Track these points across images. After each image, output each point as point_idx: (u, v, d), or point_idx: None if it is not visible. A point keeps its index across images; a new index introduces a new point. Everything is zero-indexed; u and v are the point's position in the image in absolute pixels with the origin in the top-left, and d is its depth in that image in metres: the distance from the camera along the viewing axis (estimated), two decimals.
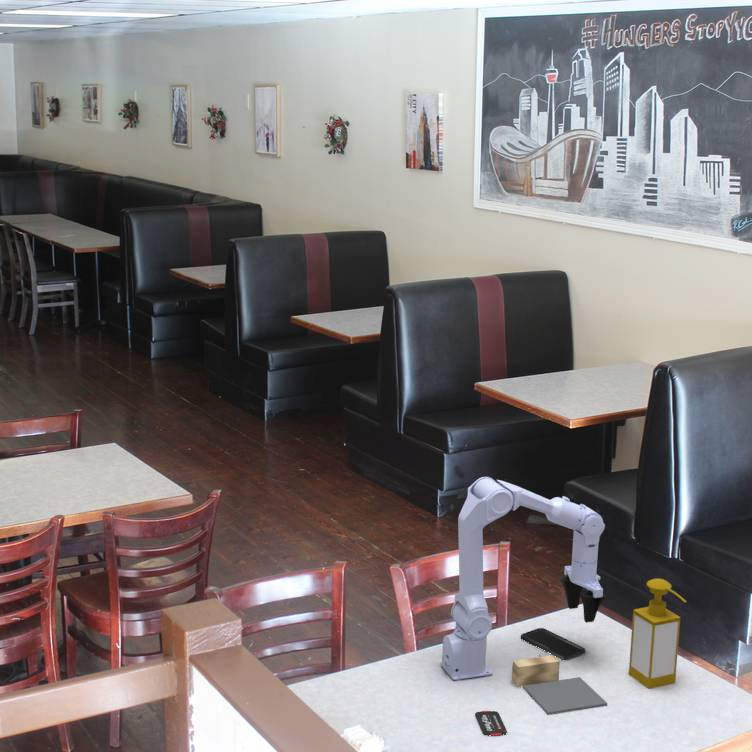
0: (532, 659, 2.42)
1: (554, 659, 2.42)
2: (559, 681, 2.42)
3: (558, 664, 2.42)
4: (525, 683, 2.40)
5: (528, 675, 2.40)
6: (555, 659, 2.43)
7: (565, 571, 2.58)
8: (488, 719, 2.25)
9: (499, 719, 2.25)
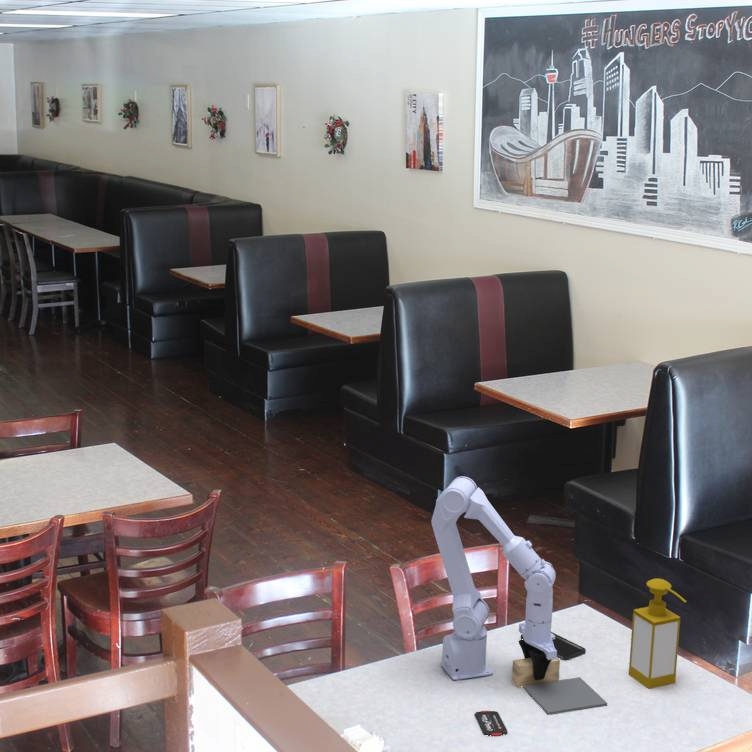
0: None
1: (554, 659, 2.42)
2: (559, 681, 2.42)
3: (558, 663, 2.42)
4: (525, 682, 2.40)
5: (528, 674, 2.40)
6: None
7: (519, 629, 2.46)
8: (488, 719, 2.25)
9: (499, 719, 2.26)
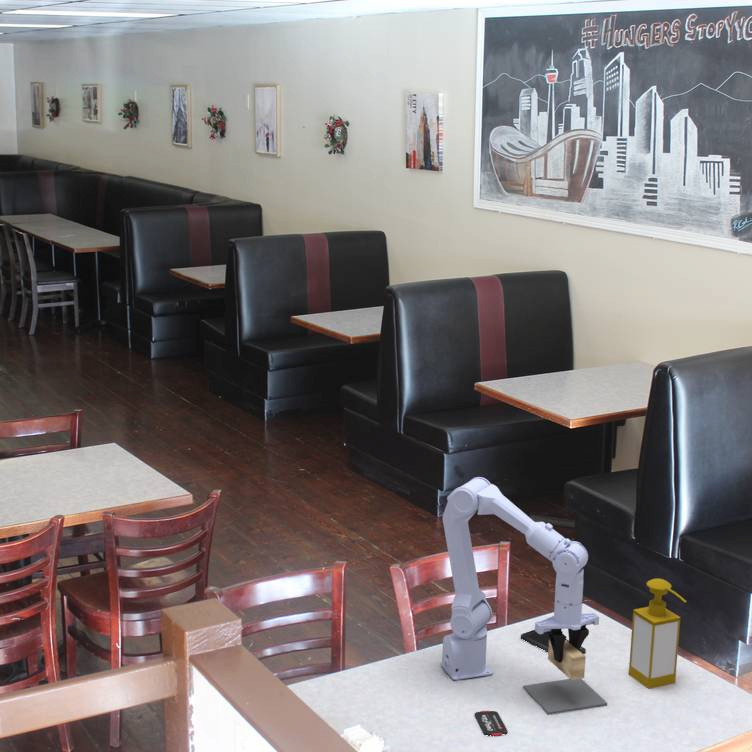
0: (569, 645, 2.34)
1: (574, 655, 2.30)
2: (559, 681, 2.42)
3: (572, 661, 2.29)
4: (552, 659, 2.37)
5: None
6: (575, 656, 2.29)
7: None
8: (488, 719, 2.25)
9: (499, 719, 2.26)
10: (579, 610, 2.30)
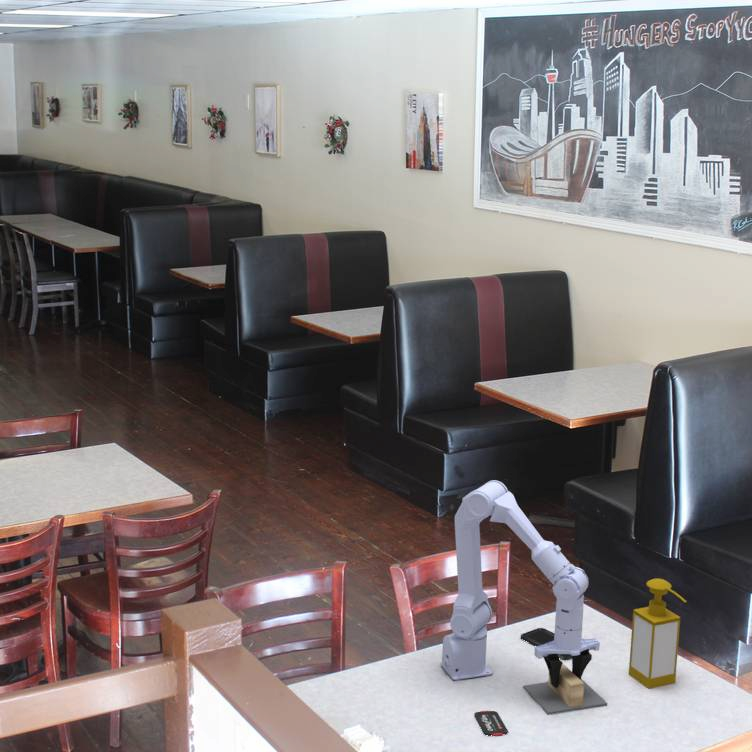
0: (569, 672, 2.35)
1: (573, 682, 2.31)
2: None
3: (570, 688, 2.30)
4: (552, 685, 2.38)
5: None
6: (574, 683, 2.30)
7: None
8: (488, 719, 2.25)
9: (499, 719, 2.26)
10: (579, 636, 2.31)
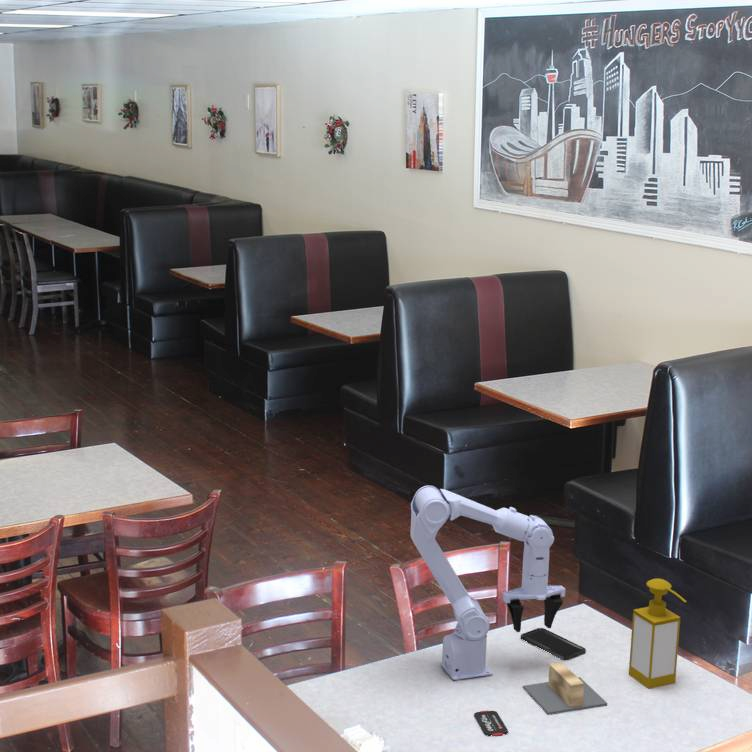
0: (569, 672, 2.35)
1: (573, 682, 2.31)
2: None
3: (570, 688, 2.30)
4: (552, 685, 2.38)
5: (554, 679, 2.37)
6: (574, 683, 2.30)
7: None
8: (487, 719, 2.25)
9: (499, 719, 2.26)
10: (545, 581, 2.43)
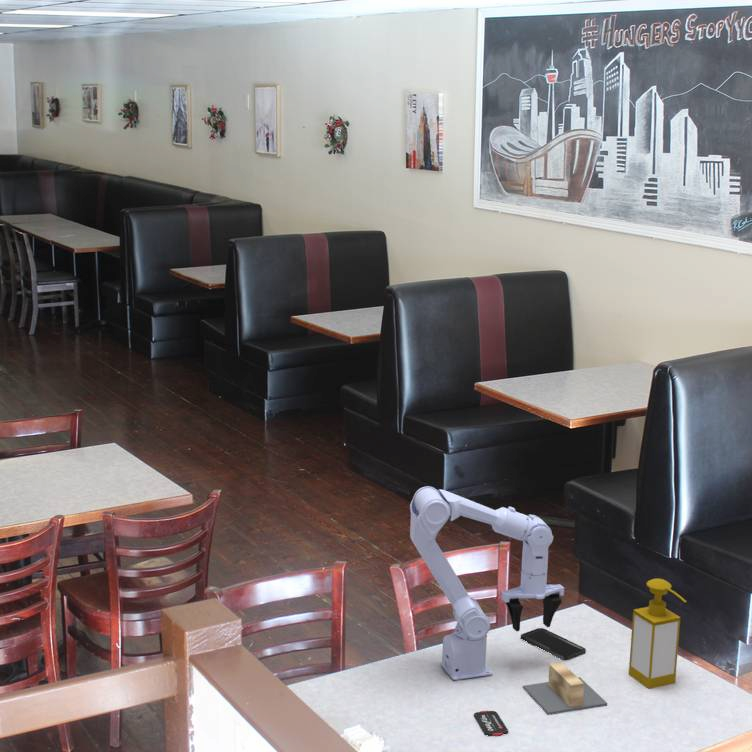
0: (569, 672, 2.35)
1: (573, 682, 2.31)
2: None
3: (570, 688, 2.30)
4: (552, 685, 2.38)
5: (554, 679, 2.37)
6: (574, 683, 2.30)
7: None
8: (487, 719, 2.25)
9: (499, 719, 2.26)
10: (544, 580, 2.43)
